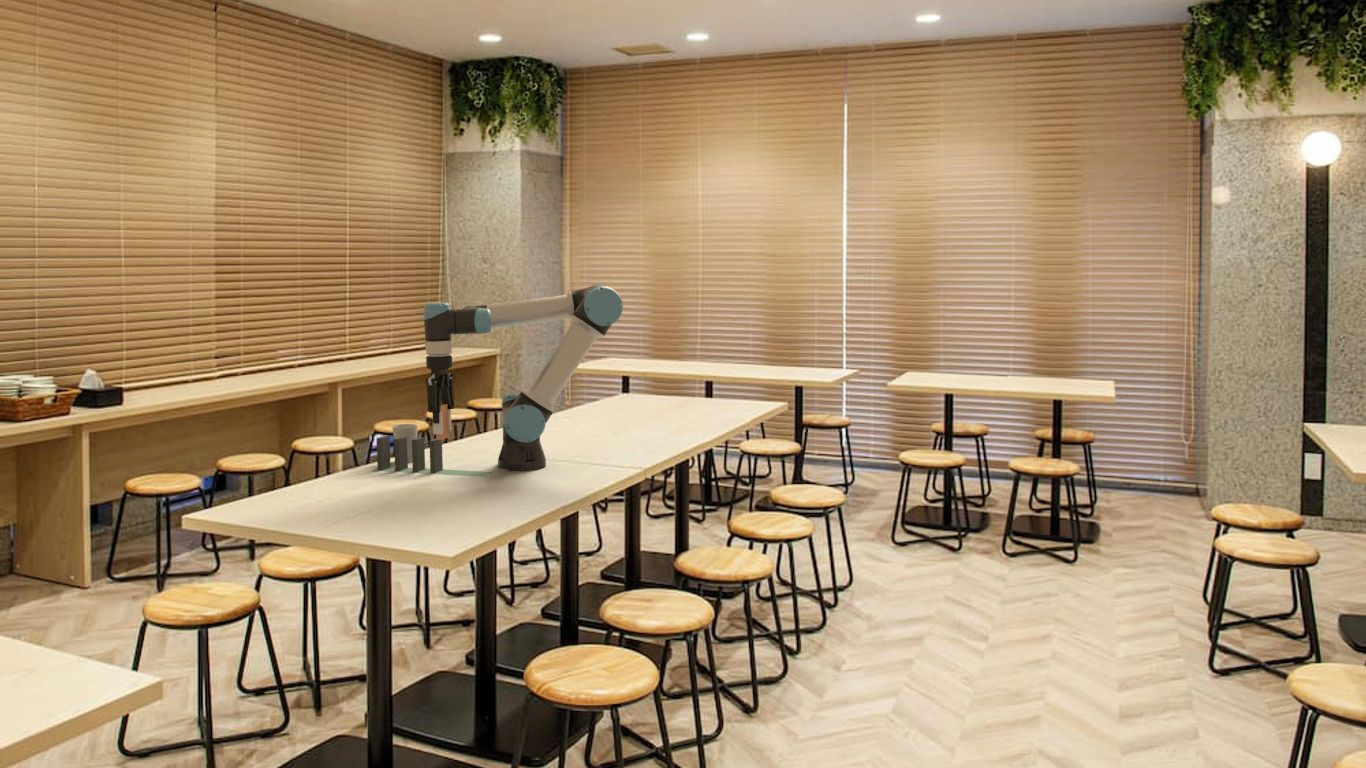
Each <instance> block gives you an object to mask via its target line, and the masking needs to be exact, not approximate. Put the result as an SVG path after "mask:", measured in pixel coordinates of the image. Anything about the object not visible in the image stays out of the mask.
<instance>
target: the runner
mask: <svg viewBox="0 0 1366 768" xmlns="http://www.w3.org/2000/svg"><path fill="white" fill-rule="evenodd" d="M370 471H373V472H388V473H389V472H390V473H392V472H393V473H404V474H405V473H407V474H409V473H410V474H426V475H427V474H429V475H445V476H447V475H448V476H464V477H465V476H466V477H481V478H482V477H486V476H488V475H492V474H494V471H481V470H479V471H478V470H461V469H445V468H443V470H442V471H439V472H437V473H430V468H426V467H425V469H424V470H422V471H419V472H413V467H408V468H407V469H405V470H402V471H395V466H391V467H390V468H387V469H385V470H378V467H377V468H374V469H372V470H370Z"/></svg>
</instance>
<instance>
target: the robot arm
mask: <svg viewBox="0 0 1366 768" xmlns="http://www.w3.org/2000/svg"><path fill="white" fill-rule="evenodd" d="M450 305H451V304H450V303H448V302H428V303H426V304H425V305H424V306H423V322H424V323H423V324H424V338H425V339H424V341H425V344H424V347H425V354H426V355H427V356H426V357H425V359H426V360H425V361H426V362H425V363H426V368H427V369H428V370H430V375H429V376H430V377H426V378H425V383H426V394H427V395H426V396H427V411H428V413H429V414H430V413H431V414H432V429H433V430H432V432H433V435H436V434H443V425H442V412H440V407H441V404H448V425H449V432H452V431H453V428H452V427H453V426H452V411H451V410H455V409H454V408H455V393H454V391H455V389H454V388H455V387H454V378H455V375H454V373H450V371H449V369H451V368H453V356H452V353H453V349H452V335H478V334H479V335H482V334H489V333H491V331H492V329H496V328H497V329H498V328H506V327H512V326H513V327H515V326H524V325H529V324H530V325H531V324H537V323H538V324H539V323H547V322H555V321H562V320H571V321H572V324H571V325H570V327H568V330H567V331H566V332H565V333H564V336H563V337H562V339H560V341H559V343H558V344H557V346H556V348H555V349H554V350H553V352H552V354H551V355H550V356H549V357H548V359H547V361H546V362H545V364H544V366H543V367H542V369H541V370H540V371H539V373H537V376H536V378H535V379H534V381H533V382H532V383H531V385H530V387H529V388H525V389H521V391H520V392H519V394H505V395H503V397H502V400H501V406H502V407H501V408H502V409H501V412H502V446H501V449H500V451H499V455H498V457H497V467H498V468H500V469H503V470H507V471H531V470H539V469H542V468H545V467H546V466H547V458H546V455H545V452H544V449H543V446H542V444H541V436H542V434H543V433H544V430H545V429H546V424H547V422H548V421H549V420H550V418H551V416H552V415H553V413H554V412H555V409H554V403H555V401H556V400H557V398H558V397H559V396H560V394H561V392H562V391H563V389H564V388H565V387H566V385H567V384H568V382H569V381H570V379H571V377H572V376H573V374H574V373H575V371H576V370H577V369H578V367H579V366H580V364H581V363H582V361H583V360H584V358H585V356H586V355H587V353H588V352H589V351H590V349H591V348H592V346H593V345H594V343H595V342H596V340H597V339H599V338H603V337H605V335H606V334H607V333H608V331H609V330H610V328H611V327H612V325H613V324H615V323H616V322H617V321H618V320H619V319H620V317H621V316H622V313H623V310H624V309H623V308H624V307H623V306H624V304H623V301H622V298H621V296H620V294H619V293H618V291H616V290H615V289H614V288H612V287H610V286H607V285H601V284H599V285H598V284H596V285H592V286H588V287H585V288H580V289H576V290H569V291H568V292H567V293H566V294H563V295H555V296H554V295H553V296H547V297H537V298H531V299H523V300H514V301H505V302H497V303H489V304H483V305H482V304H481V305H469V306H464V307H463V308H459V309H456V308H451V306H450Z"/></svg>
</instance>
